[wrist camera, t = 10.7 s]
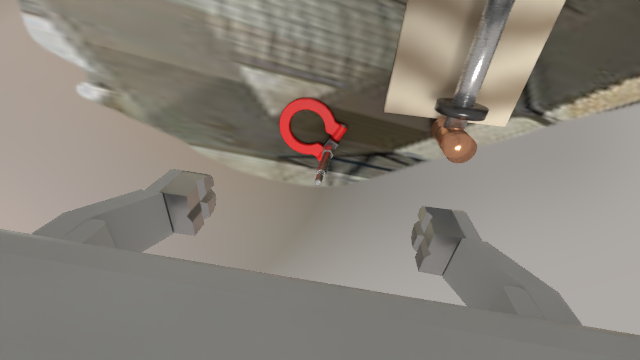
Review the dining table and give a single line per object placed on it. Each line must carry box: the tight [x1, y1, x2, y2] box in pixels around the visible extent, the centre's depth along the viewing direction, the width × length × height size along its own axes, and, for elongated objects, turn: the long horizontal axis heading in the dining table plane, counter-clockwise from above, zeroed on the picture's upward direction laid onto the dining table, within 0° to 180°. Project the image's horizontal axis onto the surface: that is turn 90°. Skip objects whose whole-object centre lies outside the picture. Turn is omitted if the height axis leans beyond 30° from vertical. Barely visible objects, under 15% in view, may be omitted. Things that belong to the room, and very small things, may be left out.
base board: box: [384, 0, 566, 127], centre depth 30 cm, size 24×16×1 cm, turn 175°
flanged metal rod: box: [431, 0, 516, 163], centre depth 28 cm, size 19×6×7 cm, turn 175°
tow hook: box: [279, 98, 348, 186], centre depth 34 cm, size 8×13×9 cm
